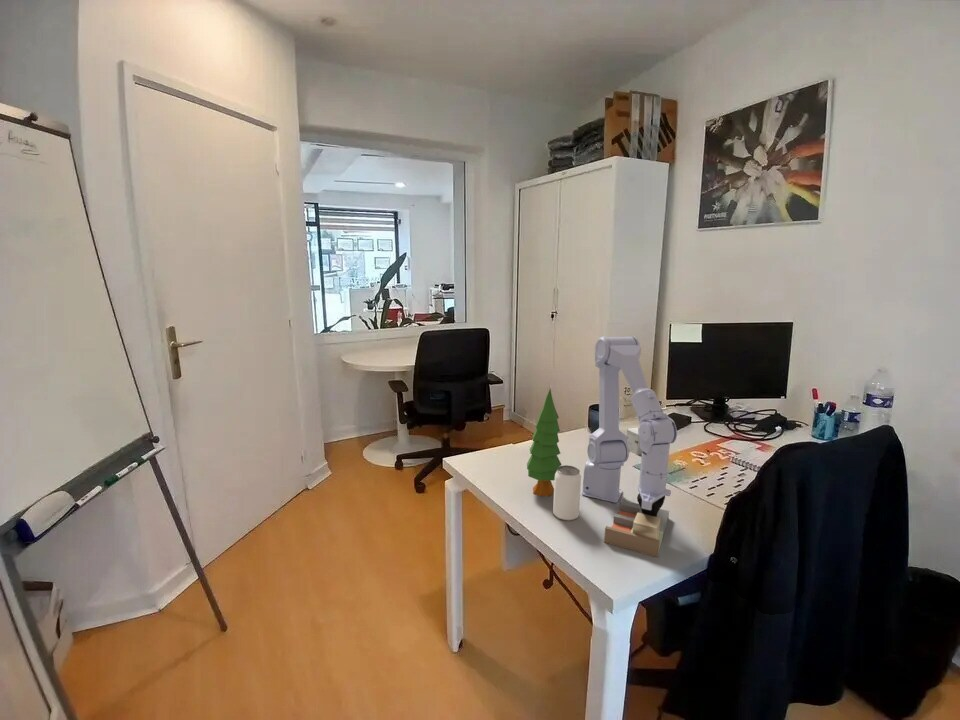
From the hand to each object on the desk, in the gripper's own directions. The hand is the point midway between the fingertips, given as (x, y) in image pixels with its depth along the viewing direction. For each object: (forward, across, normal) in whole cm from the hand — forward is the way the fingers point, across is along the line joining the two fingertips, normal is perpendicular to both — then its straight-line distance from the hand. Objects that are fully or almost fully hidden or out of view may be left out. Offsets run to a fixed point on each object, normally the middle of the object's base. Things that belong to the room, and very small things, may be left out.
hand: (648, 524), depth 109 cm
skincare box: (+3, +54, +12) cm, 55 cm away
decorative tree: (+3, +9, +30) cm, 31 cm away
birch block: (+1, -4, 0) cm, 4 cm away
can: (+3, 0, +20) cm, 20 cm away
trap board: (+3, +2, +2) cm, 4 cm away
